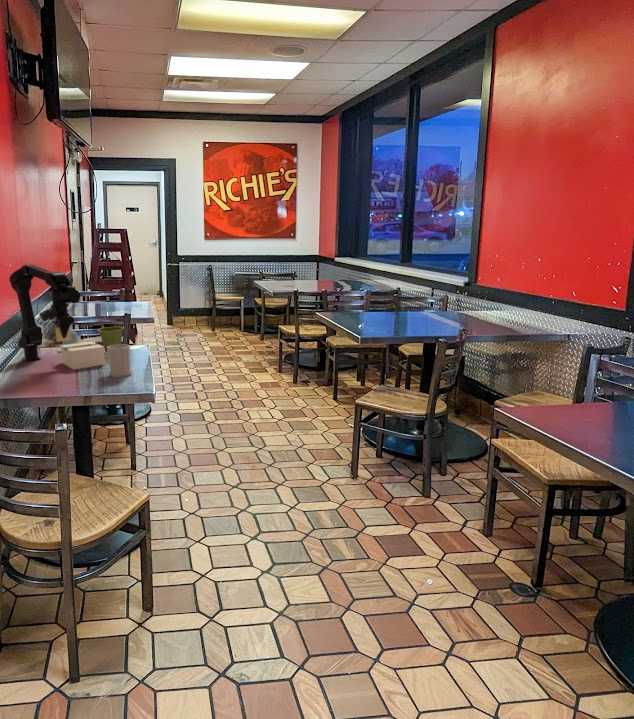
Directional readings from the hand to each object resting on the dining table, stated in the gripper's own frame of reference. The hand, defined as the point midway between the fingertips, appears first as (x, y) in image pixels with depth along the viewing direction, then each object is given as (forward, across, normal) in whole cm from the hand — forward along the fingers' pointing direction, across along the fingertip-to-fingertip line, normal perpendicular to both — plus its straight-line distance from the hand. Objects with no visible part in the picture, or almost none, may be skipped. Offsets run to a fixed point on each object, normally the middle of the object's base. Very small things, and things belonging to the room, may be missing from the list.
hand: (63, 337), depth 278 cm
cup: (+13, +32, +12) cm, 36 cm away
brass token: (+1, 0, 0) cm, 1 cm away
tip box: (+12, +2, +7) cm, 14 cm away
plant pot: (+12, -16, +26) cm, 32 cm away
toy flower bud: (+12, -34, +14) cm, 39 cm away
